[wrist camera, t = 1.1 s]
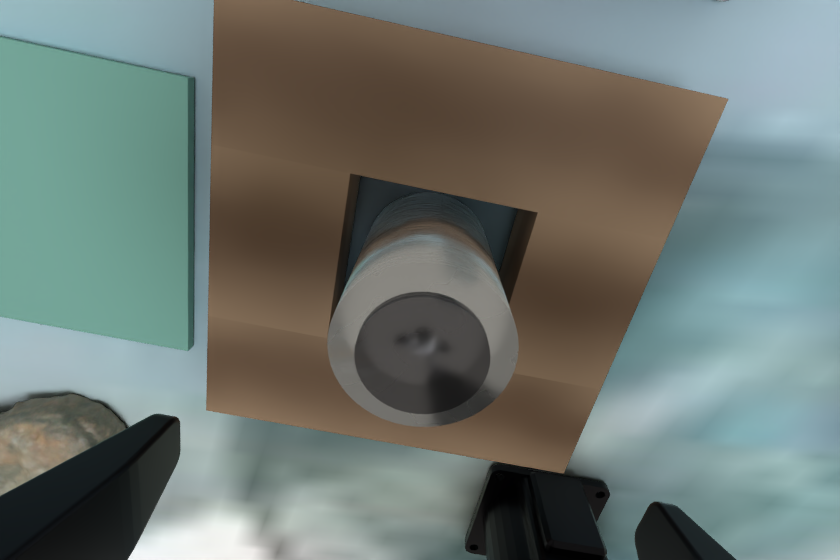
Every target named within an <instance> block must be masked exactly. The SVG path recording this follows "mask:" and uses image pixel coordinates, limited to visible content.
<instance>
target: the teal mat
mask: <svg viewBox="0 0 840 560" xmlns="http://www.w3.org/2000/svg"><path fill="white" fill-rule="evenodd" d="M193 298H194V78H193V77H188V76H183V75H179V74H174V73H169V72H165V71H160V70H155V69H151V68H146V67H141V66H137V65H132V64H128V63H123V62H118V61H114V60H109V59H104V58H100V57H95V56H90V55H86V54H81V53H76V52H72V51H67V50H62V49H58V48H53V47H48V46H44V45H39V44H35V43H30V42H25V41H21V40H16V39H11V38H7V37H2V36H0V317H5V318H11V319H16V320H22V321H27V322H32V323H38V324H43V325H49V326H54V327H60V328H65V329H71V330H76V331H81V332H87V333H92V334H98V335H103V336H109V337H114V338H120V339H125V340H131V341H136V342H141V343H147V344H152V345H158V346H163V347H169V348H174V349H180V350H185V351H189V350H190V349H191V347H192V346H193Z"/></svg>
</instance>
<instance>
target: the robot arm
mask: <svg viewBox="0 0 840 560" xmlns="http://www.w3.org/2000/svg"><path fill="white" fill-rule="evenodd" d="M179 456H180V421H179V419H178V418H177V417H174V416H169V415H163V414H154V415H151V416H149V417H147V418H145V419H143V420H142V421H140V422H138V423H136V424H134V425H132V426H130V427H128V428H127V429H125V430H123V431H121V432H119V433H117V434H115V435H113V436H111V437H110V438H108V439H106V440H104V441H102V442H100V443H98V444H96V445H95V446H93V447H91V448H89V449H87V450H85V451H83V452H81V453H80V454H78V455H76V456H74V457H72V458H70V459H68V460H66V461H64V462H63V463H61V464H59V465H57V466H55V467H53V468H51V469H49V470H48V471H46V472H44V473H42V474H40V475H38V476H36V477H34V478H32V479H31V480H29V481H27V482H25V483H23V484H21V485H19V486H17V487H16V488H14V489H12V490H10V491H8V492H6V493H4V494H2V495H0V560H128V558H129V556H130V555H131V553H132V551H133V550H134V548H135V546H136V544H137V542H138V540H139V539H140V537H141V535H142V533H143V531H144V529H145V527H146V525H147V523H148V521H149V519H150V517H151V515H152V513H153V511H154V509H155V507H156V505H157V503H158V501H159V499H160V497H161V495H162V493H163V491H164V489H165V487H166V485H167V483H168V481H169V479H170V477H171V475H172V473H173V471H174V469H175V467H176V465H177V462H178V460H179ZM497 474H501V475H497ZM599 491H600V492H599ZM609 496H610V492H609V490H608V487H607V485H606V484H605V483H602V482H598V481H592V480H587V479H581V478H575V477H570V476H564V475H558V474H553V473H547V472H541V471H536V470H530V469H524V468H519V467H513V466H507V465H502V464H497V465H494V466H492V467H491V468H490V470H489V473H488V475H487V478H486V481H485V484H484V487H483V490H482V493H481V495H480V498H479V501H478V504H477V507H476V510H475V513H474V515H473V518H472V521H471V524H470V527H469V530H468V532H467V535H466V538H465V549H466V551H468V552H470V553H473V554H479V555H486V558H487V560H608V559H607V556H606V554H607V550H606V547H605V545H604V542H603V539H602V536H601V534H600V531H599V528H598V526H597V523H596V522H597V520H598V518H599V516H600V514H601V512H602V510H603V508H604V506H605V504H606V502H607V500H608V498H609ZM635 545H636V549H637V554H638V558H639V560H736V559H735V558H734V557H733V556H732V555H731V554H729V553H728V552H727V551H726V550H725V549H724V548H723V547H722V546H721V545H719V544H718V543H717V542H716V541H715V540H714V539H713V538H712V537H711V536H710V535H708V534H707V533H706V532H705V531H704V530H703V529H702V528H701V527H700V526H698V525H697V524H696V523H695V522H694V521H693V520H692V519H691V518H690V517H688V516H687V515H686V514H685V513H684V512H683V511H682V510H681V509H680V508H678V507H677V506H675V505H673V504H668V503H662V502H653V503H651V504H650V505H649V507H648V509H647V510H646V512H645V514H644V516H643V518H642V520H641V521H640V523H639V525H638V527H637V529H636V532H635Z"/></svg>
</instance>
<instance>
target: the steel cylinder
mask: <svg viewBox="0 0 840 560" xmlns="http://www.w3.org/2000/svg"><path fill="white" fill-rule="evenodd" d="M327 347H328V356H329V360H330V365H331V367H332V370H333V372H334V375H335V377H336V379H337V380H338V382H339V384H340V385H341V387H342V388H343V389H344V391H345V392H346V393H347V394H348V395H349V396H350V397H351V398H352V399H353V400H354V401H355V402H356V403H357V404H359V405H360V406H361V407H362V408H364V409H365V410H367V411H369V412H370V413H372V414H374V415H376V416H378V417H380V418H382V419H385V420H388V421H390V422H393V423H397V424H402V425H407V426H415V427H433V426H442V425H447V424H452V423H455V422H458V421H462V420H464V419H466V418H469V417H471V416H473V415H475V414H476V413H478V412H480V411H482V410H483V409H484V408H486V407H487V406H488V405H490V404H491V403H492V402H493V401H494V400H495V399H496V398H497V397H498V396H499V395H500V394H501V393H502V391H503V390H504V389H505V387H506V386H507V384H508V382H509V381H510V379H511V377H512V375H513V372H514V370H515V367H516V363H517V359H518V350H519V344H518V334H517V329H516V325H515V322H514V319H513V316H512V313H511V310H510V307H509V304H508V301H507V298H506V295H505V292H504V289H503V286H502V283H501V280H500V277H499V274H498V271H497V268H496V265H495V262H494V259H493V256H492V253H491V250H490V247H489V244H488V241H487V238H486V235H485V232H484V230H483V227H482V225H481V223H480V221H479V220H478V218H477V217H476V215H475V214H474V213H473V212H472V211H471V210H470V209H469V208H468V207H467V206H466V205H464V204H463V203H462V202H460V201H458V200H457V199H455V198H452V197H450V196H448V195H444V194H440V193H434V192H420V193H413V194H410V195H406V196H404V197H401V198H399V199H397V200H395V201H394V202H392V203H391V204H389V205H388V206H387V207H386V208H385V209H384V210H383V211H382V212H381V213H380V214H379V215H378V217H377V218H376V219H375V221H374V223H373V225H372V227H371V229H370V231H369V234H368V236H367V238H366V241H365V243H364V245H363V248H362V250H361V252H360V254H359V257H358V259H357V261H356V264H355V266H354V268H353V271H352V273H351V275H350V278H349V280H348V282H347V284H346V287H345V289H344V291H343V294H342V296H341V298H340V301H339V303H338V305H337V308H336V310H335V312H334V315H333V317H332V320H331V322H330V327H329V331H328V341H327Z"/></svg>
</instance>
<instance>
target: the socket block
mask: <svg viewBox="0 0 840 560" xmlns="http://www.w3.org/2000/svg"><path fill="white" fill-rule="evenodd" d="M727 101H728V99H726V98H722V97H718V96H713V95H709V94H704V93H700V92H696V91H691V90H687V89H682V88H678V87H674V86H669V85H665V84H660V83H656V82H651V81H647V80H643V79H638V78H634V77H629V76H625V75H621V74H616V73H612V72H607V71H603V70H599V69H594V68H590V67H585V66H581V65H577V64H572V63H568V62H563V61H559V60H554V59H550V58H546V57H541V56H537V55H532V54H528V53H524V52H519V51H515V50H510V49H506V48H502V47H497V46H493V45H488V44H484V43H479V42H475V41H471V40H466V39H462V38H457V37H453V36H449V35H444V34H440V33H435V32H431V31H427V30H422V29H418V28H413V27H409V26H404V25H400V24H396V23H391V22H387V21H382V20H378V19H374V18H369V17H365V16H360V15H356V14H352V13H347V12H343V11H338V10H334V9H329V8H325V7H321V6H316V5H312V4H307V3H303V2H299V1H294V0H214V26H213V80H212V134H211V187H210V241H209V295H208V348H207V402H206V410H208V411H213V412H219V413H225V414H230V415H236V416H242V417H247V418H253V419H258V420H264V421H270V422H275V423H281V424H287V425H292V426H298V427H304V428H309V429H315V430H321V431H326V432H332V433H338V434H343V435H349V436H355V437H360V438H366V439H371V440H377V441H383V442H388V443H394V444H400V445H405V446H411V447H417V448H422V449H428V450H434V451H439V452H445V453H451V454H456V455H462V456H467V457H473V458H479V459H484V460H490V461H496V462H501V463H507V464H513V465H518V466H524V467H530V468H535V469H541V470H547V471H552V472H558V473H564V472H565V469H566V467H567V465H568V463H569V460H570V458H571V456H572V453H573V451H574V449H575V447H576V444H577V442H578V440H579V438H580V435H581V433H582V431H583V428H584V426H585V424H586V422H587V419H588V417H589V415H590V412H591V410H592V408H593V406H594V403H595V401H596V399H597V397H598V394H599V392H600V390H601V387H602V385H603V383H604V381H605V378H606V376H607V374H608V372H609V369H610V367H611V365H612V362H613V360H614V358H615V356H616V353H617V351H618V349H619V347H620V344H621V342H622V340H623V337H624V335H625V333H626V331H627V328H628V326H629V324H630V322H631V319H632V317H633V315H634V312H635V310H636V308H637V306H638V303H639V301H640V299H641V297H642V294H643V292H644V290H645V287H646V285H647V283H648V281H649V278H650V276H651V274H652V271H653V269H654V267H655V265H656V262H657V260H658V258H659V256H660V253H661V251H662V249H663V246H664V244H665V242H666V240H667V237H668V235H669V233H670V231H671V228H672V226H673V224H674V221H675V219H676V217H677V215H678V212H679V210H680V208H681V206H682V203H683V201H684V199H685V196H686V194H687V192H688V190H689V187H690V185H691V183H692V181H693V178H694V176H695V174H696V171H697V169H698V167H699V165H700V162H701V160H702V158H703V155H704V153H705V151H706V149H707V146H708V144H709V142H710V140H711V137H712V135H713V133H714V130H715V128H716V126H717V124H718V121H719V119H720V117H721V115H722V112H723V110H724V108H725V105H726V103H727ZM360 176H365V177H370V178H374V179H379V180H384V181H389V182H394V183H398V184H403V185H408V186H413V187H418V188H423V189H427V190H432V191H437V192H442V193H447V194H451V195H456V196H461V197H466V198H471V199H475V200H480V201H485V202H490V203H495V204H500V205H504V206H509V207H514V208H518V211H517V214H516V218H515V221H514V224H513V228H512V231H511V234H510V238H509V241H508V245H507V248H506V251H505V255H504V258H503V262H502V265H501V268H500V272H499V277H500V280H501V283H502V286H503V289H504V292H505V295H506V298H507V301H508V304H509V307H510V310H511V313H512V316H513V319H514V322H515V325H516V329H517V334H518V344H519V350H518V359H517V363H516V367H515V370H514V372H513V375H512V377H511V379H510V381H509V382H508V384H507V386H506V387H505V389H504V390H503V391H502V393H501V394H500V395H499V396H498V397H497V398H496V399H495V400H494V401H493V402H492V403H491V404H490V405H488V406H487V407H486V408H484V409H483V410H482V411H480V412H478V413H476V414H475V415H473V416H471V417H469V418H466V419H464V420H462V421H458V422H455V423H452V424H447V425H442V426H433V427H415V426H407V425H402V424H397V423H393V422H390V421H388V420H385V419H382V418H380V417H378V416H376V415H374V414H372V413H370V412H369V411H367V410H365V409H364V408H362V407H361V406H360V405H359V404H357V403H356V402H355V401H354V400H353V399H352V398H351V397H350V396H349V395H348V394H347V393H346V392H345V391H344V389H343V388H342V387H341V385H340V384H339V382H338V380H337V379H336V377H335V375H334V372H333V370H332V367H331V365H330V360H329V356H328V347H327V341H328V331H329V327H330V322H331V320H332V317H333V315H334V312H335V310H336V308H337V305H338V303H339V301H340V298H341V296H342V294H343V290H344V283H345V276H346V269H347V263H348V256H349V249H350V243H351V236H352V229H353V222H354V216H355V209H356V202H357V196H358V189H359V182H360Z"/></svg>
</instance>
